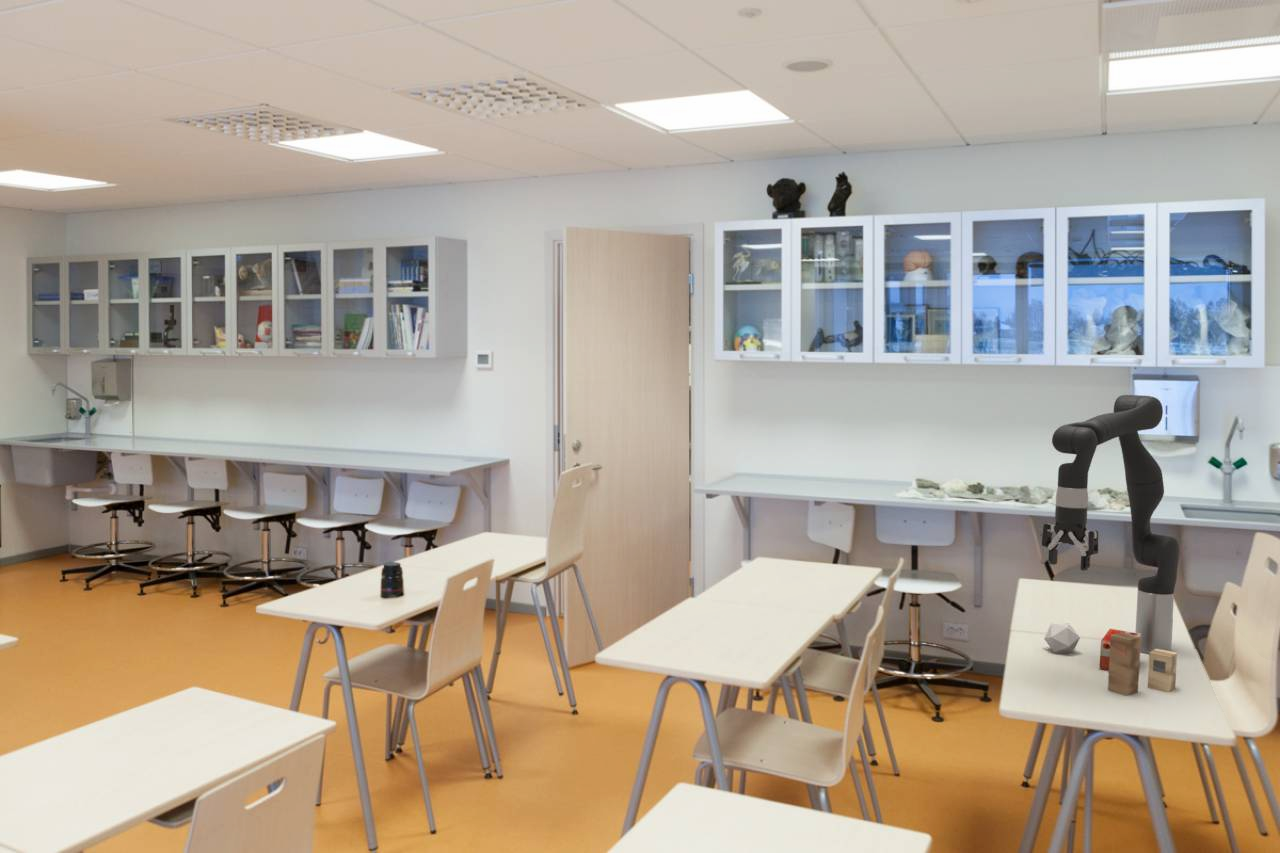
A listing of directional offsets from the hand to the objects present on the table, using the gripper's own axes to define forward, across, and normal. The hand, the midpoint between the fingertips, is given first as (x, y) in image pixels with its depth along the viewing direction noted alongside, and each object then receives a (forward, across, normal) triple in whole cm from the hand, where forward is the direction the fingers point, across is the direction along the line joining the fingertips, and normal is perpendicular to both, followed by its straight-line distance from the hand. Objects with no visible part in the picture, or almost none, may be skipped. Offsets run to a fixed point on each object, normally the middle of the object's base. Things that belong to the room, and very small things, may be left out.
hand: (1068, 567), depth 263 cm
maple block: (+29, -18, -15) cm, 37 cm away
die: (+30, +14, -22) cm, 39 cm away
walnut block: (+29, -14, -4) cm, 33 cm away
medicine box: (+30, -2, -24) cm, 38 cm away
